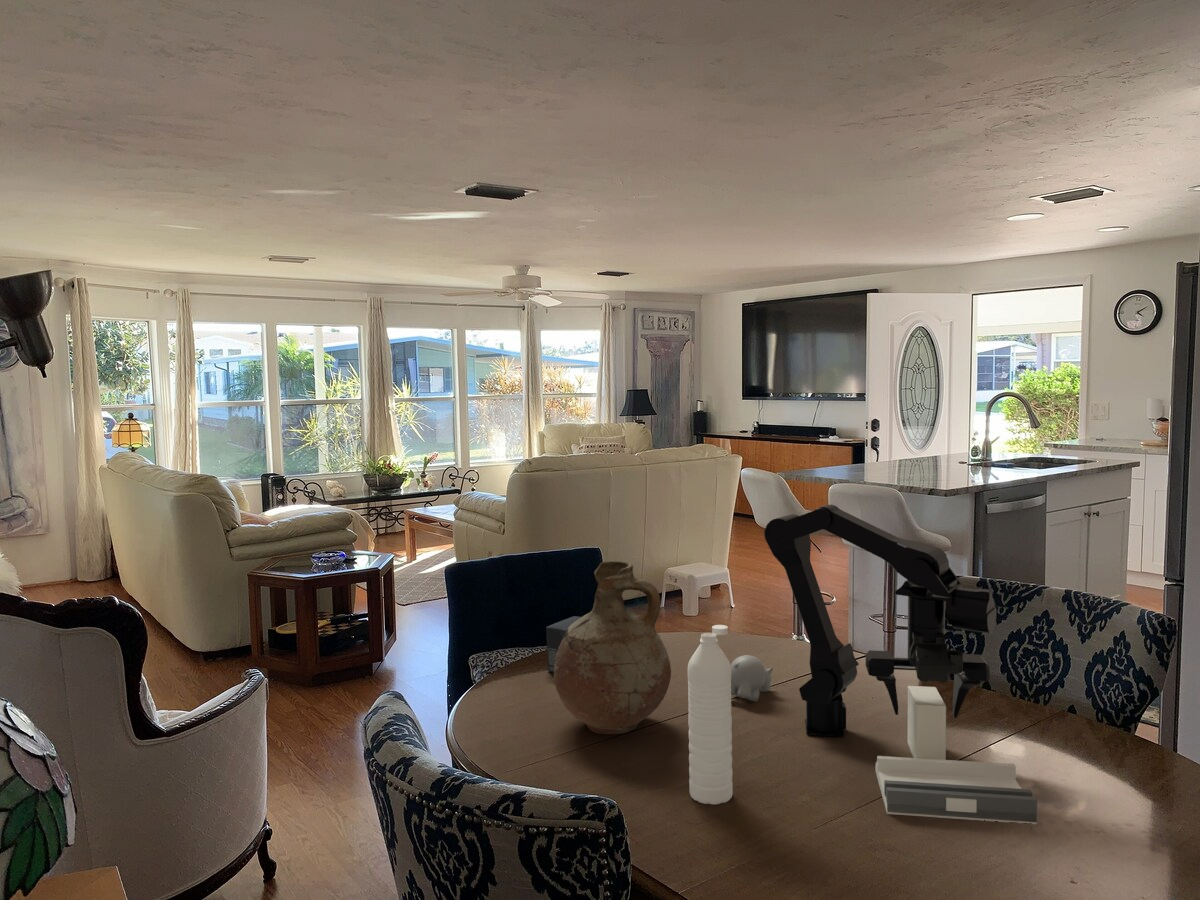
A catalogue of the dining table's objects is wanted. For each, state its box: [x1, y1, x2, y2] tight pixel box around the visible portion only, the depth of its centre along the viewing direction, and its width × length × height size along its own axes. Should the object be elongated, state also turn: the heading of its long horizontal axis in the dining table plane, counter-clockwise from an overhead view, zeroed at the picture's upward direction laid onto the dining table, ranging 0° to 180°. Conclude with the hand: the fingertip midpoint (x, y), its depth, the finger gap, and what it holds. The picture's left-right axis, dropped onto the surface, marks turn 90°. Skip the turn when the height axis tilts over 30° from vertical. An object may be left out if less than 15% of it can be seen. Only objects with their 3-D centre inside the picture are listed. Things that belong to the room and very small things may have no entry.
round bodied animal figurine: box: [730, 654, 774, 703], centre depth 172 cm, size 7×12×8 cm, turn 130°
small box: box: [545, 615, 582, 674], centre depth 192 cm, size 11×6×10 cm, turn 145°
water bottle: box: [687, 624, 734, 805], centre depth 131 cm, size 9×6×25 cm
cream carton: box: [907, 685, 947, 760], centre depth 143 cm, size 5×9×10 cm, turn 169°
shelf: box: [875, 755, 1038, 825], centre depth 129 cm, size 20×14×4 cm
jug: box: [553, 560, 672, 735], centre depth 158 cm, size 22×22×30 cm
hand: (925, 715), depth 143 cm, fingers open, 9 cm apart
